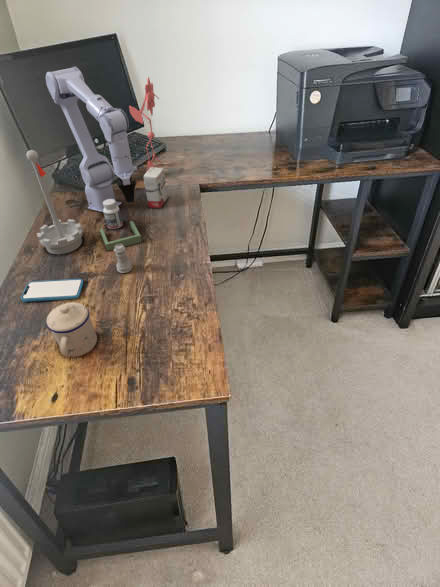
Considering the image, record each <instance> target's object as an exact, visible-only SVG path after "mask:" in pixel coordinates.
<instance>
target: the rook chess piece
mask: <svg viewBox="0 0 440 587" xmlns="http://www.w3.org/2000/svg"><path fill="white" fill-rule="evenodd" d="M114 247H115V248H114V249H113V251H114V252H115V256H116V258H117V262H116V265H115V266H116V271H117V272H118V273H120V274H128V273H130V272H131V271H132V270H133V265H132V262H131V261H130V260H129V259H128V257H127V255H126V254H127V252H126V251H125V250H126V249H127V248H126V246H124V245H123V244H122V245H121V244H120V245H118V244H117V245H116V246H114Z"/></svg>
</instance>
